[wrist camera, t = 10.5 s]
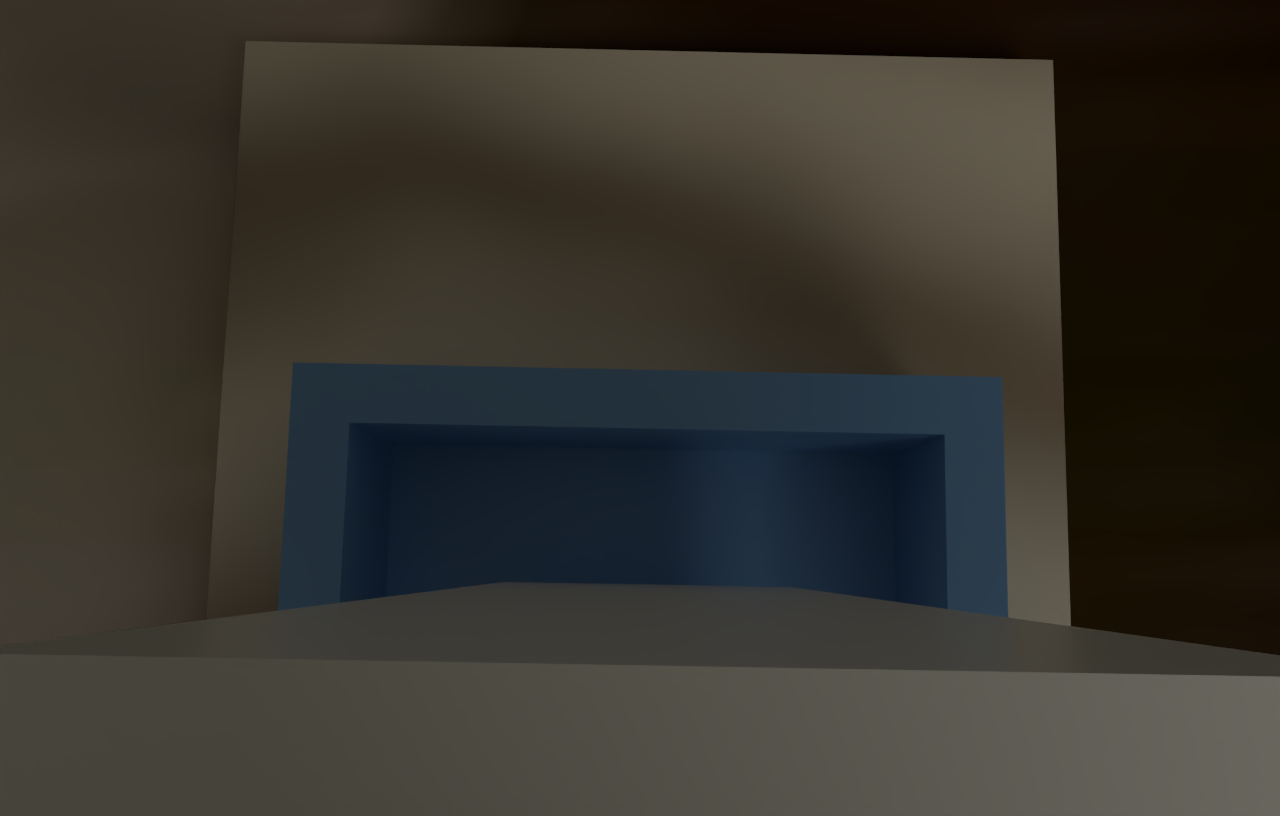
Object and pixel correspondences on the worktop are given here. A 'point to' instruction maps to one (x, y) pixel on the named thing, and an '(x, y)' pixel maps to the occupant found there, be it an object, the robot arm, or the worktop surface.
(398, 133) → the board
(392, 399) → the box
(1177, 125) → the worktop surface
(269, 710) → the connector column
